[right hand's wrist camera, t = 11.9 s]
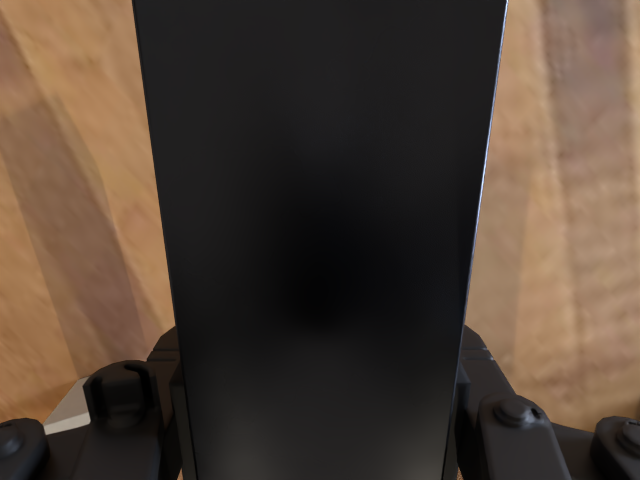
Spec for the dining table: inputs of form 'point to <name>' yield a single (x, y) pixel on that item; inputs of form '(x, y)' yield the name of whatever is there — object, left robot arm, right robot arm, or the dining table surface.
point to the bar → (319, 223)
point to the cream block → (69, 411)
